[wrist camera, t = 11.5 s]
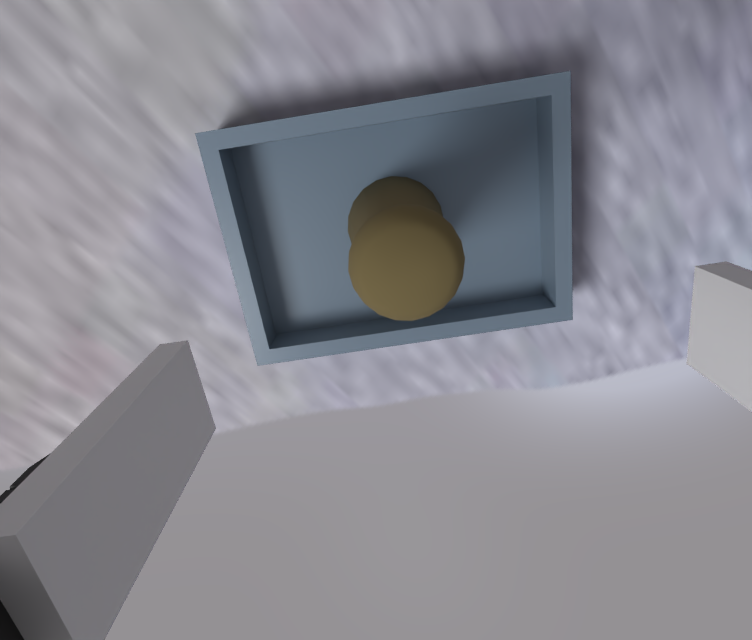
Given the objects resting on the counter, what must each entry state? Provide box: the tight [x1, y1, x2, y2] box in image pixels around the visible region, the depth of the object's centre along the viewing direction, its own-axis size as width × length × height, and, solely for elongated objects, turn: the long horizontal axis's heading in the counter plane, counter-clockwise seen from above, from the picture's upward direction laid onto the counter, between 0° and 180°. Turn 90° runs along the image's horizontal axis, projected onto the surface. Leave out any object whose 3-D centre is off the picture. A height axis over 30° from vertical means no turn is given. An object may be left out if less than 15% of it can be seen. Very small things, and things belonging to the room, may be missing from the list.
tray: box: [195, 71, 573, 366], centre depth 30 cm, size 20×14×4 cm
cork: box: [348, 176, 465, 321], centre depth 25 cm, size 6×6×11 cm
